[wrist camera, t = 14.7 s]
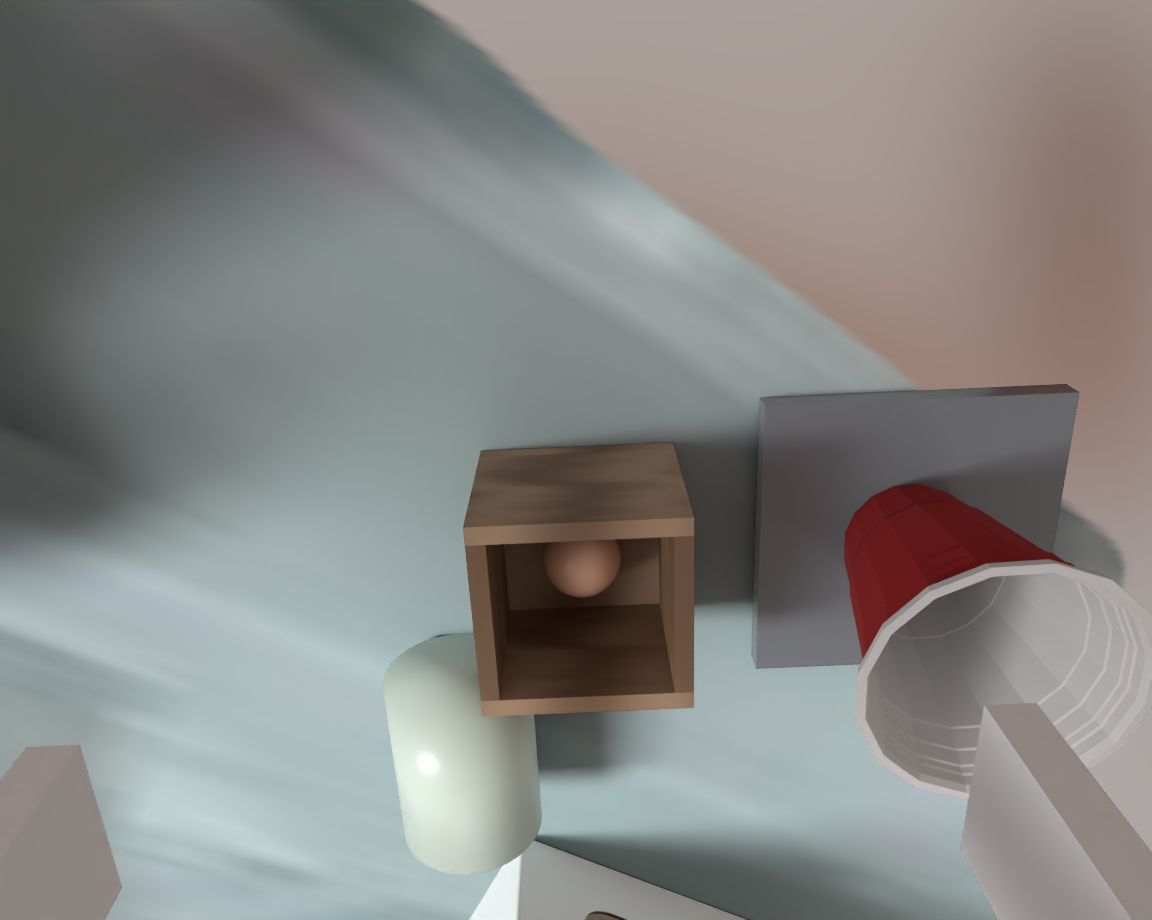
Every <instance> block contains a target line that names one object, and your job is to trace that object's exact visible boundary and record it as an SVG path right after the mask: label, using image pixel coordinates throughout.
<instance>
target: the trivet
mask: <svg viewBox="0 0 1152 920" xmlns="http://www.w3.org/2000/svg"><path fill="white" fill-rule="evenodd" d="M1078 397H1079V392H1078V391H1076V390H1075V389H1073V388H1072V387H1070V386H1068V385H1067V384H1058V385H1037V386H1013V387H991V388H969V389H947V390H924V391H902V392H880V393H858V394H836V395H814V396H791V397H769V398H760V408H759V439H758V471H757V502H756V533H755V564H754V595H753V627H752V658H753V661H754V664H755V667H756V669H760V668H783V667H807V666H831V665H854V664H861V662H862V653H861V648H860V643H859V638H858V633H857V628H856V623H855V618H854V613H853V608H852V603H851V598H850V583H849V579H848V575H847V571H846V567H845V563H844V546H845V532H846V530H847V528H848V526H849V524H850V521H851V519H852V517H853V515H854V513H855V512H856V511H857V510H858V509H859V508H860V507H861V506H862V505H863V504H864V503H865V502H866V501H867V500H868V499H869V498H870V497H871V496H873V495H876V494H878V493H880V492H882V491H884V490H886V489H889V488H891V487H893V486H900V485H911V484H920V485H923V486H927V487H930V488H934V489H937V490H941V491H944V492H948V493H949V494H951V495H953V496H954V497H956V498H957V499H959V500H961V501H962V502H964V503H965V504H967V505H969V506H970V507H974V508H977V509H979V510H981V511H982V512H984V513H986V514H987V515H989V516H990V517H992V518H994V519H995V520H997V521H998V522H1000V523H1001V524H1003V525H1005V526H1006V527H1008V528H1009V529H1011V530H1012V531H1014V532H1016V533H1017V534H1019V535H1020V536H1022V537H1024V538H1025V539H1027V540H1028V541H1030V542H1031V543H1033V544H1035V545H1036V546H1038V547H1039V548H1041V549H1043V550H1044V551H1047V552H1050V553H1052V550H1053V545H1054V539H1055V533H1056V527H1057V521H1058V515H1059V509H1060V503H1061V498H1062V492H1063V486H1064V480H1065V474H1066V468H1067V462H1068V456H1069V450H1070V444H1071V439H1072V433H1073V426H1074V421H1075V415H1076V409H1077V403H1078Z"/></svg>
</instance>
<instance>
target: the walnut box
mask: <svg viewBox="0 0 1152 920" xmlns="http://www.w3.org/2000/svg"><path fill="white" fill-rule="evenodd" d="M463 532H464V541H465V551H466V561H467V571H468V581H469V590H470V600H471V610H472V620H473V629H474V639H475V649H476V659H477V669H478V678H479V688H480V698H481V708H482V717H488V716H511V715H535V714H559V713H583V712H607V711H631V710H654V709H678V708H694V514H693V511H692V507H691V504H690V500H689V497H688V493H687V490H686V486H685V483H684V479H683V476H682V472H681V469H680V465H679V462H678V458H677V455H676V451H675V448H674V444H673V442H670V443H648V444H625V445H603V446H581V447H559V448H536V449H514V450H492V451H481V453H480V457H479V461H478V466H477V470H476V474H475V479H474V483H473V487H472V492H471V496H470V500H469V504H468V509H467V513H466V517H465V522H464V526H463ZM611 539H616V541H617V543H618V545H619V549H620V554H621V562H620V568H619V571H618V574H617V576H616V578H615V580H614V581H613V582H612V584H611V585H610V586H609V587H608V588H607V589H605V590H604V591H602V592H601V593H599V594H597V595H594V596H591V597H584V598H579V597H573V596H569V595H567V594H565V593H563V592H561V591H559V590H558V589H557V588H556V587H555V586H554V585H553V584H552V583H551V582H550V580H549V579H548V577H547V575H546V573H545V570H544V567H543V550H544V547H545V544H546V542H565V541H588V540H611Z"/></svg>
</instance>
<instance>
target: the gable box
mask: <svg viewBox="0 0 1152 920" xmlns="http://www.w3.org/2000/svg"><path fill="white" fill-rule="evenodd" d="M470 920H746V919H743V918H741V917H738V916H735V915H732V914H730V913H727V912H724V911H722V910H719V909H716V908H714V907H711V906H708V905H706V904H703V903H700V902H698V901H695V900H692V899H690V898H687V897H684V896H682V895H679V894H676V893H673V892H671V891H668V890H665V889H663V888H660V887H657V886H655V885H652V884H649V883H647V882H644V881H641V880H639V879H636V878H633V877H631V876H628V875H625V874H623V873H620V872H617V871H615V870H612V869H609V868H606V867H604V866H601V865H598V864H596V863H593V862H590V861H588V860H585V859H582V858H580V857H577V856H574V855H572V854H569V853H566V852H564V851H561V850H558V849H556V848H553V847H550V846H547V845H545V844H542V843H539V842H537V841H533V842H532V843H531V845H530V846H529V847H528V848H527V849H526V850H525V851H524V852H523V853H522V854H521V855H519V856H518V857H517V858H516V859H514V860H512V861H511V862H509V863H507V864H505V865H503V866H502V868H501V869H500V871H499V873H498V874H497V876H496V877H495V879H494V881H493V882H492V884H491V886H490V887H489V889H488V890H487V892H486V894H485V895H484V897H483V899H482V900H481V902H480V903H479V905H478V907H477V908H476V910H475V912H474V913H473V915H472V916H471V918H470Z"/></svg>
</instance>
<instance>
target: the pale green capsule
mask: <svg viewBox="0 0 1152 920" xmlns="http://www.w3.org/2000/svg"><path fill="white" fill-rule="evenodd" d="M383 692H384V699H385V705H386V712H387V718H388V725H389V732H390V738H391V745H392V752H393V758H394V765H395V772H396V778H397V785H398V792H399V798H400V805H401V812H402V818H403V825H404V832H405V838H406V842H407V845H408V847H409V849H410V851H411V852H412V853H413V855H414V856H415V857H416V858H417V859H418V860H419V861H421V862H422V863H423V864H425V865H427V866H428V867H430V868H433V869H435V870H438V871H441V872H445V873H451V874H476V873H482V872H486V871H490V870H493V869H496V868H499V867H501V866H503V865H505V864H507V863H509V862H511V861H512V860H514V859H516V858H517V857H518V856H519V855H521V854H522V853H523V852H524V851H525V850H526V849H527V848H528V847H529V846H530V845H531V843H532V842H533V841H534V839H535V837H536V836H537V834H538V831H539V829H540V825H541V820H542V812H541V799H540V786H539V773H538V759H537V746H536V733H535V720H534V715H511V716H488V717H482V708H481V698H480V688H479V678H478V669H477V659H476V649H475V639H474V633H467V634H451V635H445V636H441V637H437V638H433V639H430V640H427V641H424V642H422V643H420V644H417V645H415V646H414V647H412V648H410V649H408V650H407V651H405V652H404V653H402V654H401V655H400V656H399V657H397V658H396V659H395V660H394V661H393V662H392V663H391V665H390V666H389V668H388V669H387V671H386V673H385V675H384V679H383Z"/></svg>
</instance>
